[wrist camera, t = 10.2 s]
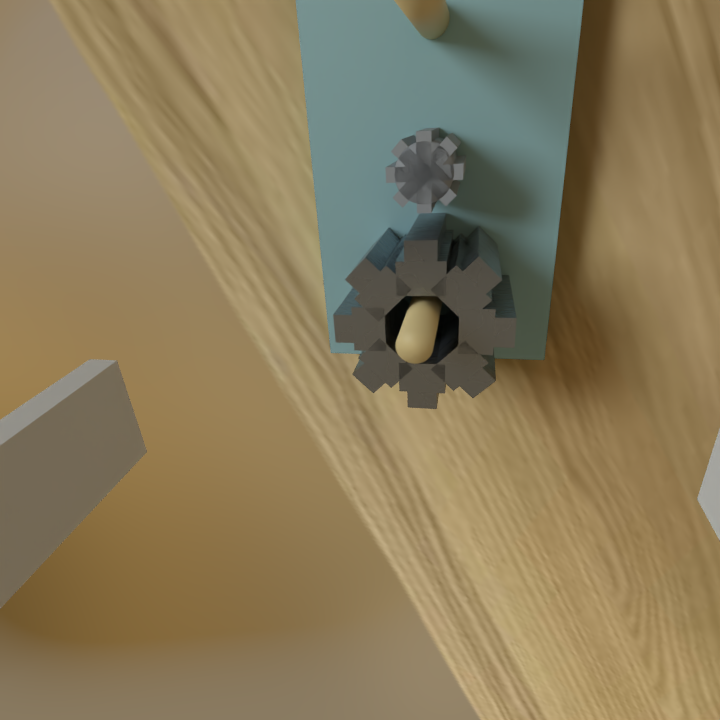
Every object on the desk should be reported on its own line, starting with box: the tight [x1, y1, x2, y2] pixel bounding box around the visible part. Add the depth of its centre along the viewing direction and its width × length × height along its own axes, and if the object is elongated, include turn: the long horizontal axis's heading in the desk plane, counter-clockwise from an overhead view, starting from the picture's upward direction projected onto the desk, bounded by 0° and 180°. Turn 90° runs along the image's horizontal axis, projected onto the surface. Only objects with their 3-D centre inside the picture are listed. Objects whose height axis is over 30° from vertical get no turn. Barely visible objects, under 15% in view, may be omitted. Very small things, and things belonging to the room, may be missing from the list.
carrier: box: [296, 0, 584, 364], centre depth 17 cm, size 17×10×8 cm, turn 4°
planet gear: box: [333, 213, 517, 409], centre depth 20 cm, size 6×6×5 cm
